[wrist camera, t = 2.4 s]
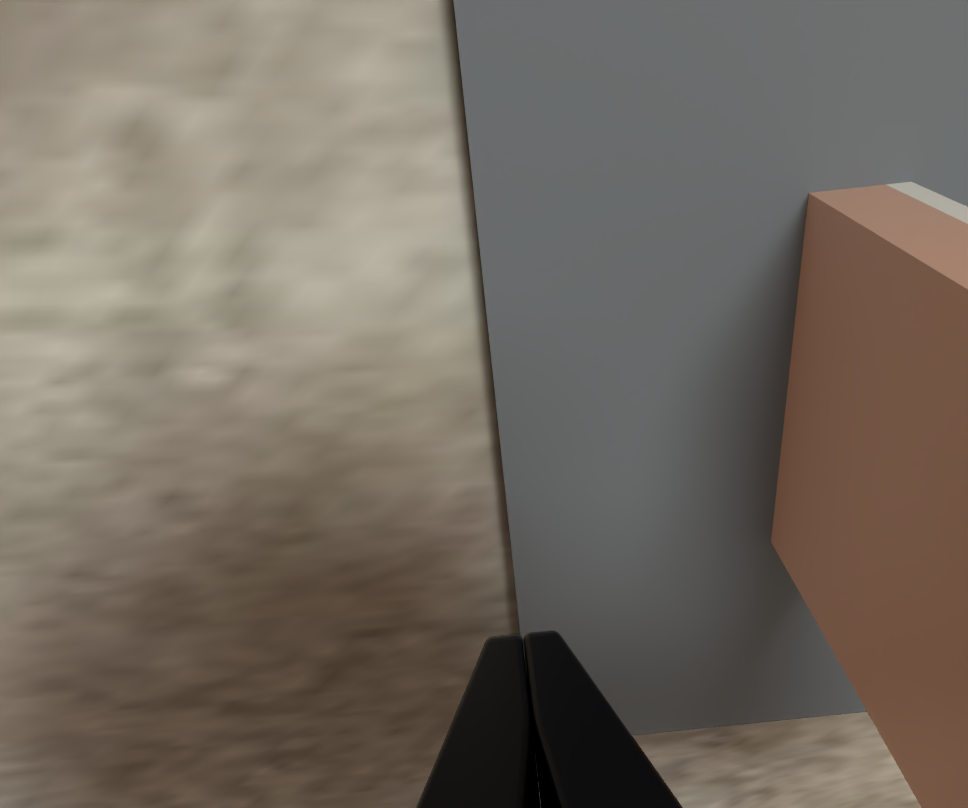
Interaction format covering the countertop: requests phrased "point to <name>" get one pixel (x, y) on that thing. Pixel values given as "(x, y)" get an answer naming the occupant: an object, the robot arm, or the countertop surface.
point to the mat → (678, 310)
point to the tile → (885, 465)
